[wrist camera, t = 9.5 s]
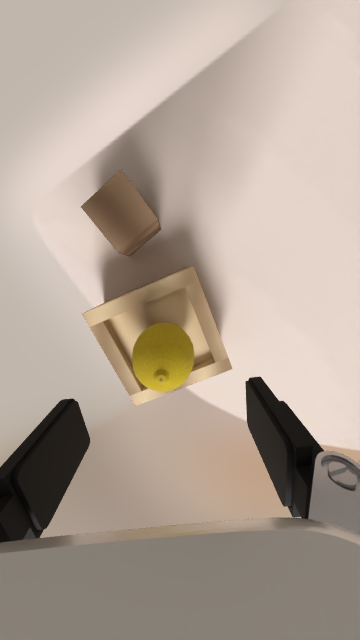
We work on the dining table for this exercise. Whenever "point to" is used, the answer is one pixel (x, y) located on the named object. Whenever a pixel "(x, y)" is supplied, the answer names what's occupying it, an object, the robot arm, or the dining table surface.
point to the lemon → (163, 357)
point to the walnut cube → (122, 214)
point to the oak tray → (151, 308)
